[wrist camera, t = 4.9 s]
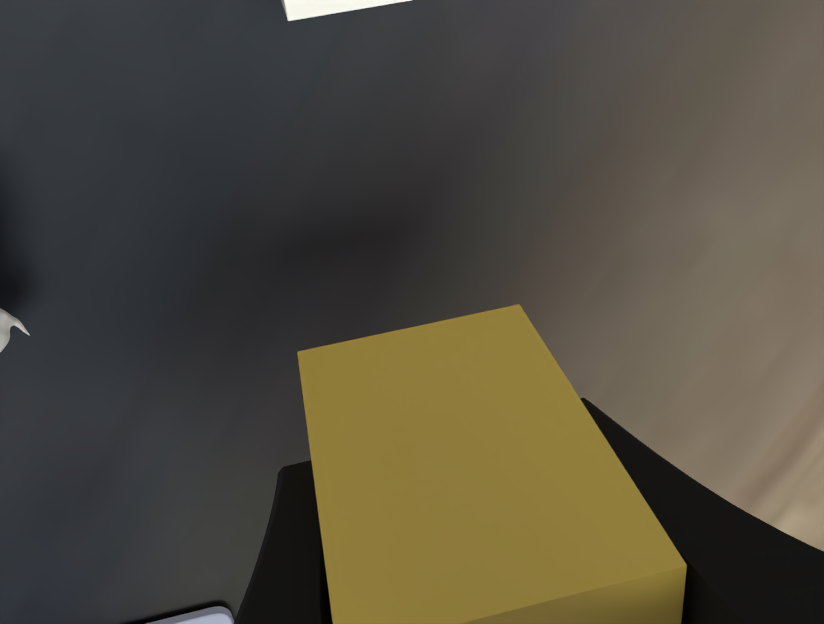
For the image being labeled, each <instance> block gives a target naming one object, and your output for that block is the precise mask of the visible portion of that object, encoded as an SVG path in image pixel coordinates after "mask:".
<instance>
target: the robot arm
mask: <svg viewBox="0 0 824 624" xmlns="http://www.w3.org/2000/svg"><path fill="white" fill-rule="evenodd" d="M580 400H581V401H582V403H583V404H584V406H585V407H586V409H587V410H588V412H589V414H590V415H591V417H592V418H593V420H594V421H595V423H596V424H597V426H598V428H599V429H600V431H601V432H602V434H603V435H604V437H605V438H606V440H607V442H608V443H609V445H610V446H611V448H612V449H613V451H614V452H615V454H616V456H617V457H618V459H619V460H620V462H621V463H622V465H623V467H624V468H625V470H626V471H627V473H628V474H629V476H630V477H631V479H632V481H633V482H634V484H635V485H636V487H637V488H638V490H639V491H640V493H641V495H642V496H643V498H644V499H645V501H646V502H647V504H648V505H649V507H650V509H651V510H652V512H653V513H654V515H655V516H656V518H657V519H658V521H659V523H660V524H661V526H662V527H663V529H664V530H665V532H666V533H667V535H668V537H669V538H670V540H671V541H672V543H673V544H674V546H675V548H676V549H677V551H678V552H679V554H680V555H681V557H682V558H683V560H684V562H685V563H686V565H687V569H686V579H685V590H684V600H683V610H682V620H681V624H824V552H823V551H821V550H819V549H817V548H815V547H812V546H810V545H808V544H806V543H804V542H802V541H800V540H798V539H796V538H794V537H792V536H790V535H788V534H786V533H784V532H782V531H780V530H778V529H776V528H775V527H773V526H771V525H769V524H767V523H765V522H763V521H762V520H760V519H758V518H756V517H754V516H752V515H750V514H749V513H747V512H745V511H743V510H742V509H740V508H738V507H736V506H735V505H733V504H731V503H730V502H728V501H726V500H725V499H723V498H722V497H720V496H719V495H717V494H715V493H714V492H712V491H711V490H709V489H708V488H706V487H704V486H703V485H701V484H700V483H698V482H697V481H695V480H694V479H692V478H691V477H689V476H688V475H686V474H685V473H684V472H682V471H681V470H679V469H678V468H677V467H675V466H674V465H672V464H671V463H670V462H668V461H667V460H665V459H664V458H662V457H661V456H660V455H658V454H657V453H655V452H654V451H653V450H651V449H650V448H649V447H647V446H646V445H645V444H643V443H642V442H641V441H639V440H638V439H637V438H635V437H634V436H633V435H632V434H630V433H629V432H628V431H626V430H625V429H624V428H622V427H621V426H620V425H619V424H617V423H616V422H615V421H613V420H612V419H611V418H610V417H608V416H607V415H606V414H605V413H603V412H602V411H601V410H600V409H598V408H597V407H596V406H594V405H593V404H592V403H591V402H589V401H588V400H586V399H585V398H581V399H580ZM146 624H333V621H332V613H331V606H330V598H329V590H328V583H327V575H326V567H325V560H324V552H323V545H322V537H321V529H320V522H319V514H318V506H317V499H316V491H315V483H314V476H313V468H312V460H311V461H306V462H302V463H298V464H293V465H289V466H285V467H283V468H282V469H281V470H280V472H279V473H278V478H277V486H276V491H275V497H274V502H273V506H272V510H271V514H270V518H269V522H268V526H267V530H266V533H265V537H264V540H263V543H262V546H261V550H260V553H259V556H258V559H257V562H256V566H255V569H254V572H253V575H252V577H251V580H250V583H249V585H248V588H247V591H246V593H245V596H244V598H243V601H242V604H241V606H240V609H239V611H238V614H237V617H236V619H235V622H234V620H233V617H232V615H231V612H230V611H229V610H228V609H227V608H225V607H221V606H216V607H211V608H207V609H203V610H198V611H194V612H190V613H186V614H182V615H178V616H174V617H170V618H166V619H162V620H158V621H154V622H150V623H146Z"/></svg>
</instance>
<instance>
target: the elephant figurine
mask: <svg viewBox="0 0 824 624" xmlns="http://www.w3.org/2000/svg"><path fill="white" fill-rule="evenodd" d="M13 325H14V326H17V327H18V328H20V329H21V330H22V331H23V332H24V333H26V334H28V335H29V333H28V332H27V330H26V329H25V328H24V326H23V324H22V323H21V322H20V321H19V320H18V319H17V318H15V317H13V316H11V315H10V314H9V313H7V312H6V311H4V310H2V309H0V352H1V351H2V350H3V349H4V348H5V346H6V345H7V343H8V342H9V339H10V328H11V327H12V326H13ZM29 336H30V335H29Z"/></svg>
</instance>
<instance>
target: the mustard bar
mask: <svg viewBox="0 0 824 624" xmlns="http://www.w3.org/2000/svg"><path fill="white" fill-rule="evenodd" d="M297 353H298V361H299V369H300V376H301V384H302V392H303V399H304V407H305V415H306V422H307V430H308V438H309V445H310V453H311V460H312V468H313V476H314V483H315V491H316V499H317V506H318V514H319V522H320V529H321V537H322V545H323V552H324V560H325V567H326V575H327V583H328V590H329V598H330V606H331V613H332V621H333V624H681V620H682V610H683V600H684V590H685V579H686V569H687V565H686V563H685V562H684V560H683V558H682V557H681V555H680V554H679V552H678V551H677V549H676V548H675V546H674V544H673V543H672V541H671V540H670V538H669V537H668V535H667V533H666V532H665V530H664V529H663V527H662V526H661V524H660V523H659V521H658V519H657V518H656V516H655V515H654V513H653V512H652V510H651V509H650V507H649V505H648V504H647V502H646V501H645V499H644V498H643V496H642V495H641V493H640V491H639V490H638V488H637V487H636V485H635V484H634V482H633V481H632V479H631V477H630V476H629V474H628V473H627V471H626V470H625V468H624V467H623V465H622V463H621V462H620V460H619V459H618V457H617V456H616V454H615V452H614V451H613V449H612V448H611V446H610V445H609V443H608V442H607V440H606V438H605V437H604V435H603V434H602V432H601V431H600V429H599V428H598V426H597V424H596V423H595V421H594V420H593V418H592V417H591V415H590V414H589V412H588V410H587V409H586V407H585V406H584V404H583V403H582V401H581V400H580V398H579V396H578V395H577V393H576V392H575V390H574V389H573V387H572V385H571V384H570V382H569V381H568V379H567V378H566V376H565V375H564V373H563V371H562V370H561V368H560V367H559V365H558V364H557V362H556V361H555V359H554V357H553V356H552V354H551V353H550V351H549V350H548V348H547V347H546V345H545V343H544V342H543V340H542V339H541V337H540V336H539V334H538V333H537V331H536V329H535V328H534V326H533V325H532V323H531V322H530V320H529V319H528V317H527V315H526V314H525V312H524V311H523V309H522V308H521V306H520V304H518V305H514V306H509V307H504V308H499V309H495V310H490V311H485V312H481V313H476V314H471V315H467V316H462V317H457V318H453V319H448V320H443V321H439V322H434V323H429V324H424V325H420V326H415V327H410V328H406V329H401V330H396V331H392V332H387V333H382V334H378V335H373V336H368V337H364V338H359V339H354V340H350V341H345V342H340V343H335V344H331V345H326V346H321V347H317V348H312V349H307V350H303V351H298V352H297Z"/></svg>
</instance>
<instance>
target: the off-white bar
mask: <svg viewBox="0 0 824 624" xmlns="http://www.w3.org/2000/svg"><path fill="white" fill-rule="evenodd" d="M404 1H410V0H281V2H282V5H283V7H284V10H285V13H286V16H287V19H288V21H291V20H297V19H303V18H309V17H315V16H321V15H327V14H333V13H339V12H345V11H351V10H357V9H363V8H369V7H375V6H380V5H386V4H392V3H398V2H404Z"/></svg>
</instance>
